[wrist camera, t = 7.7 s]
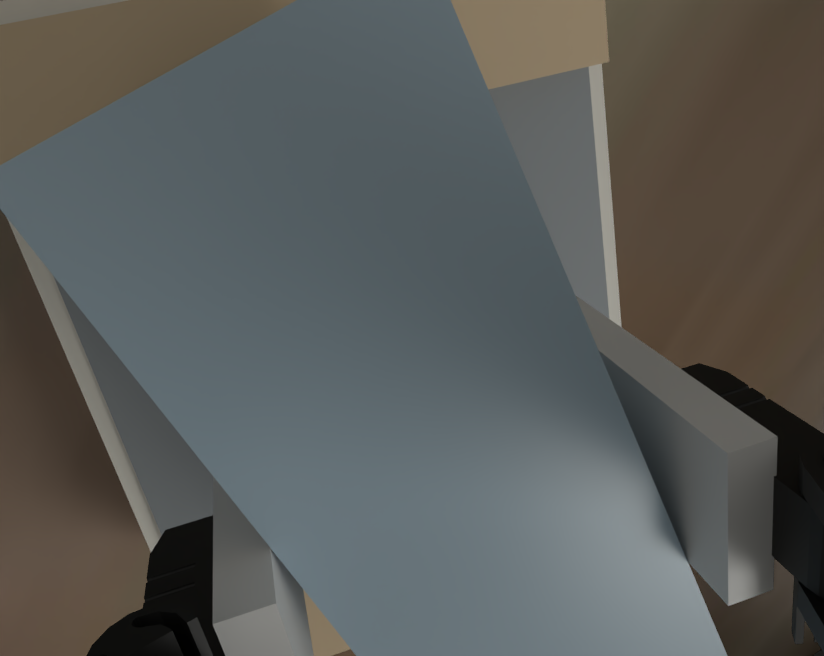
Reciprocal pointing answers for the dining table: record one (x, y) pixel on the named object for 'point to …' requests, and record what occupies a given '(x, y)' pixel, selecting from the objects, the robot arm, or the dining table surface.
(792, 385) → the dining table surface
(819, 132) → the dining table surface
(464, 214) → the blue-gray rectangular block
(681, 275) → the dining table surface
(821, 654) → the mug
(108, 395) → the stand
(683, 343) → the dining table surface
